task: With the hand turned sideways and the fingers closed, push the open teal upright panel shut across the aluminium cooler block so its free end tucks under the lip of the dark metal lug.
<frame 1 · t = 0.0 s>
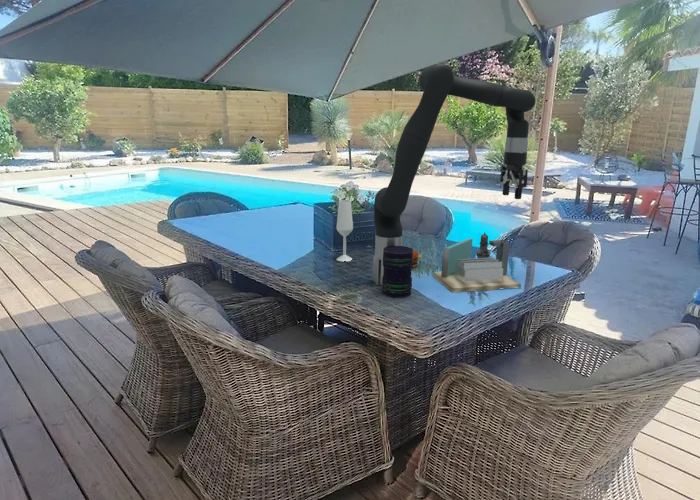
hand: (511, 197, 181), 29 cm above the table, tool pointing down, fingers open, 8 cm apart
champagne flute: (344, 259, 208), on the table
teal upright panel: (457, 257, 187), point 7 cm above the table, hinge at 40.0°
storage jar: (396, 293, 169), on the table
hamburger: (405, 266, 200), on the table
mounting board: (475, 282, 181), on the table
salt shaker: (482, 261, 208), on the table
cooler block: (478, 279, 179), resting on mounting board
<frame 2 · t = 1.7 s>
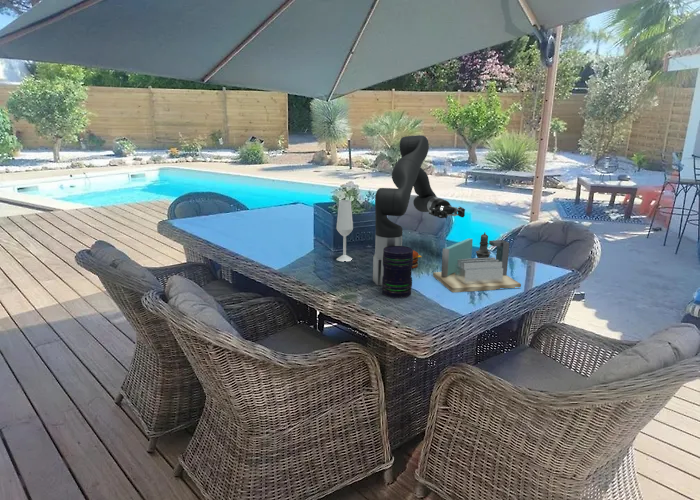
hand: (454, 215, 196), 20 cm above the table, tool horizontal, fingers open, 6 cm apart
nothing on the table moved.
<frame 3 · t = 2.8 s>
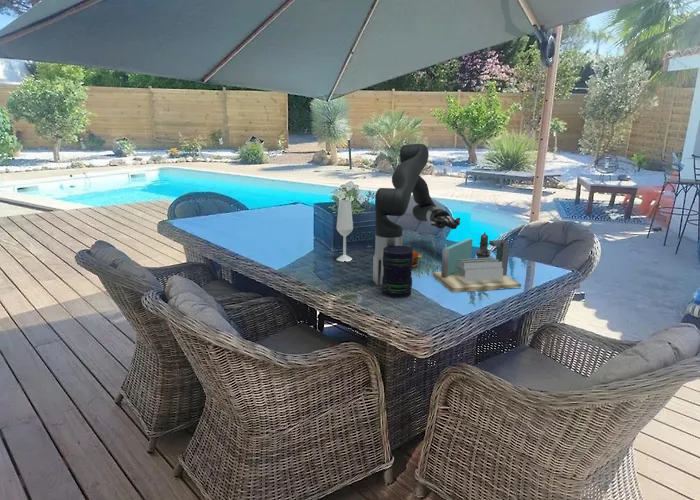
hand: (454, 226, 197), 16 cm above the table, tool horizontal, fingers closed
nothing on the table moved.
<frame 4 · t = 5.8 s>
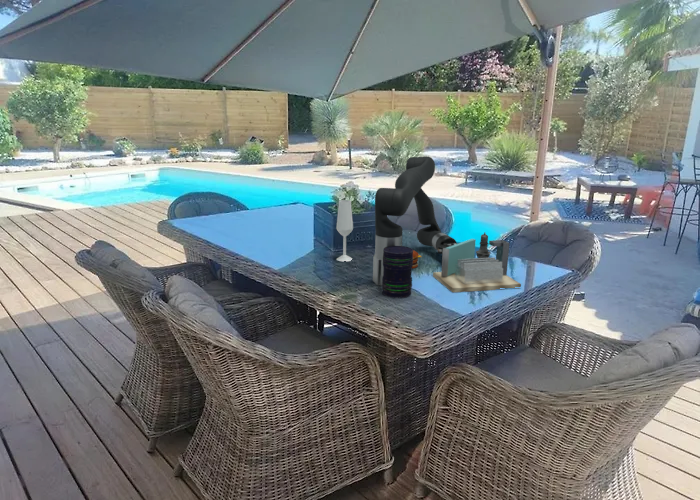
hand: (462, 255, 191), 6 cm above the table, tool horizontal, fingers closed
teal upright panel: (458, 257, 187), point 7 cm above the table, hinge at 36.4°, touching gripper
everything else where it was.
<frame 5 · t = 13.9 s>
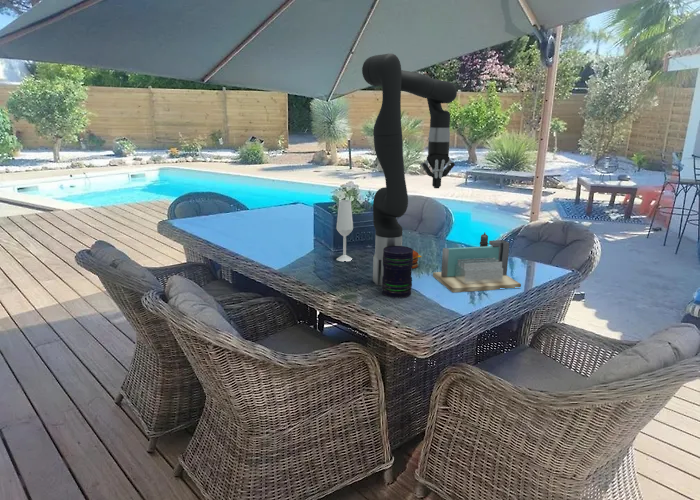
hand: (436, 188, 189), 31 cm above the table, tool pointing down, fingers closed
teal upright panel: (470, 261, 182), point 7 cm above the table, hinge at -0.2°
everything else where it was.
at the end: teal upright panel at +0° (first picture: +40°); salt shaker moved 0.2 cm from its start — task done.
